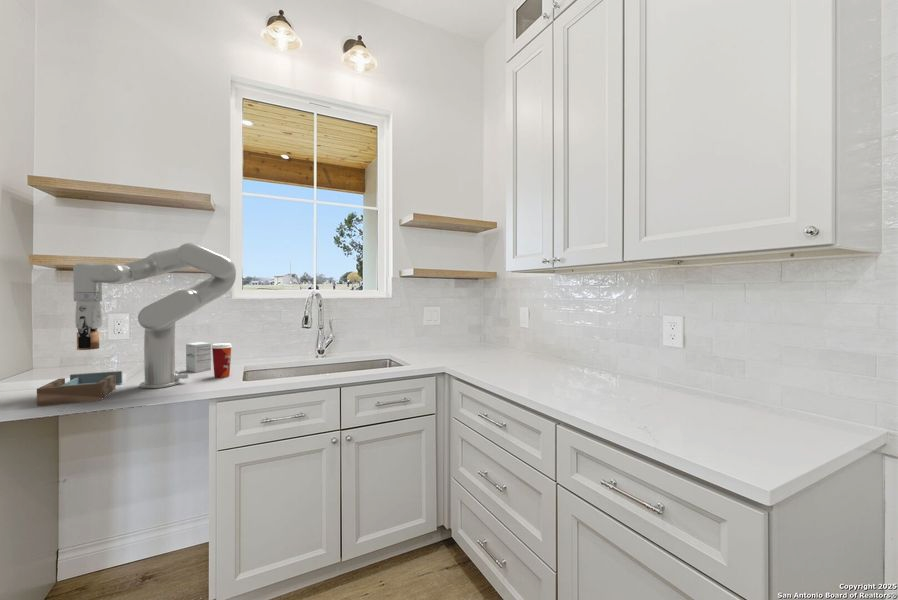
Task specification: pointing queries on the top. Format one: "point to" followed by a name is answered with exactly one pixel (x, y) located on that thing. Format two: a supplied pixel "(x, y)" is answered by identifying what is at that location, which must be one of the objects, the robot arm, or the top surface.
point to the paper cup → (221, 359)
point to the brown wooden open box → (74, 392)
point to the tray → (92, 378)
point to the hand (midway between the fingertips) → (88, 346)
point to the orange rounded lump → (94, 341)
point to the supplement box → (198, 356)
